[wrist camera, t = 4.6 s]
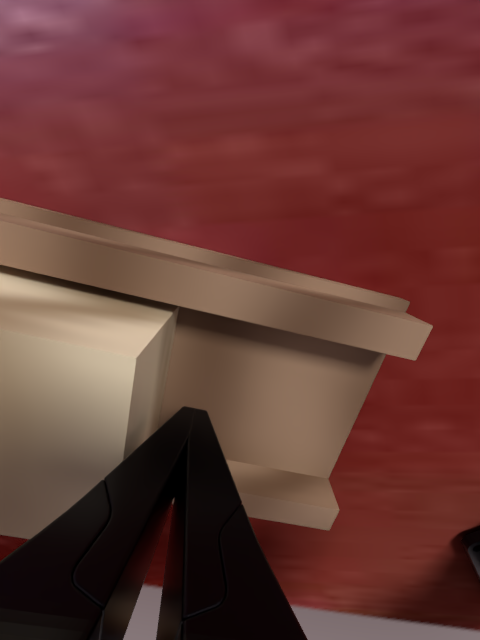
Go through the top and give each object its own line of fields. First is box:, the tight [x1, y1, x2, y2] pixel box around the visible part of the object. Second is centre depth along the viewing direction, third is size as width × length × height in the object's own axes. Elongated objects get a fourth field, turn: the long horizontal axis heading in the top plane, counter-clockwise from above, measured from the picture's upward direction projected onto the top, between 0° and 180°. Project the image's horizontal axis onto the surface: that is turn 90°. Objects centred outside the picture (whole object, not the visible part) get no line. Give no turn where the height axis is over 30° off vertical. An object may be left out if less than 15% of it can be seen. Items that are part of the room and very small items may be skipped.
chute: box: [0, 198, 433, 530], centre depth 9 cm, size 25×10×2 cm, turn 76°
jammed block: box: [0, 265, 179, 539], centre depth 8 cm, size 6×6×4 cm
